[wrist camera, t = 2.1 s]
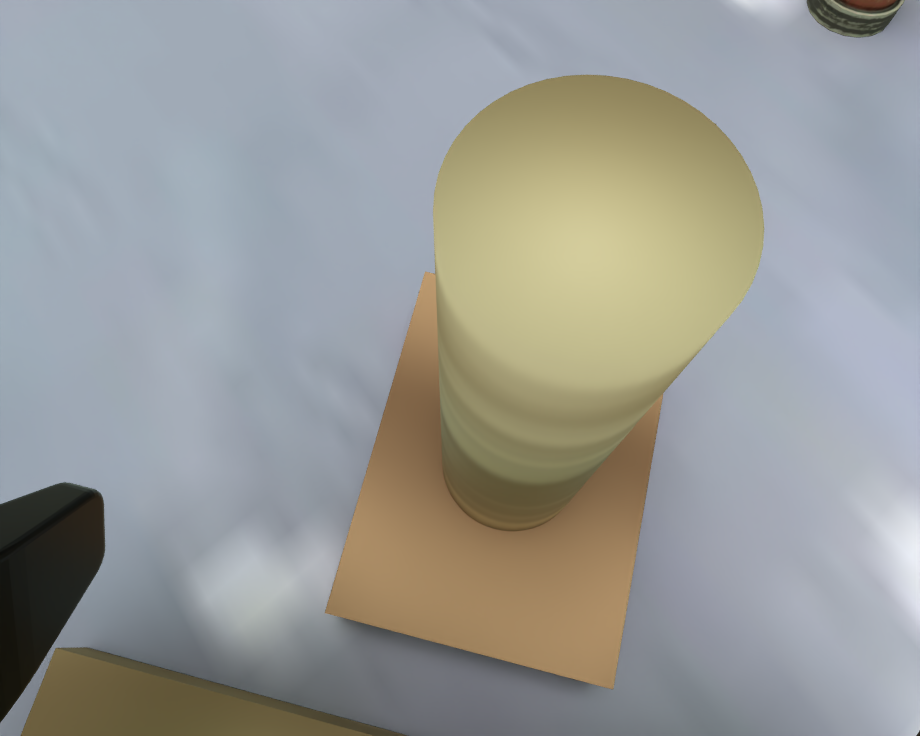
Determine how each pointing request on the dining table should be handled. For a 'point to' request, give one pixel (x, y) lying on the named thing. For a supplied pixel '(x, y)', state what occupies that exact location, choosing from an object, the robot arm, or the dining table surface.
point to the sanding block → (546, 370)
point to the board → (163, 704)
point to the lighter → (854, 15)
